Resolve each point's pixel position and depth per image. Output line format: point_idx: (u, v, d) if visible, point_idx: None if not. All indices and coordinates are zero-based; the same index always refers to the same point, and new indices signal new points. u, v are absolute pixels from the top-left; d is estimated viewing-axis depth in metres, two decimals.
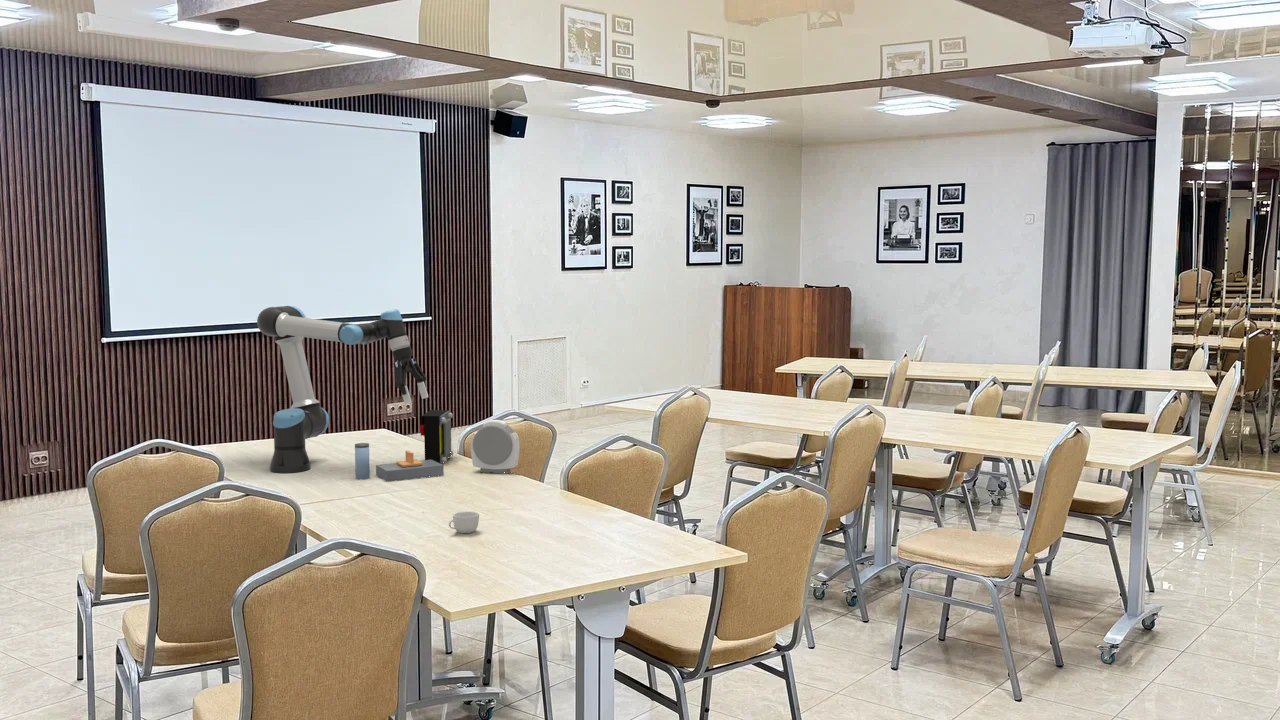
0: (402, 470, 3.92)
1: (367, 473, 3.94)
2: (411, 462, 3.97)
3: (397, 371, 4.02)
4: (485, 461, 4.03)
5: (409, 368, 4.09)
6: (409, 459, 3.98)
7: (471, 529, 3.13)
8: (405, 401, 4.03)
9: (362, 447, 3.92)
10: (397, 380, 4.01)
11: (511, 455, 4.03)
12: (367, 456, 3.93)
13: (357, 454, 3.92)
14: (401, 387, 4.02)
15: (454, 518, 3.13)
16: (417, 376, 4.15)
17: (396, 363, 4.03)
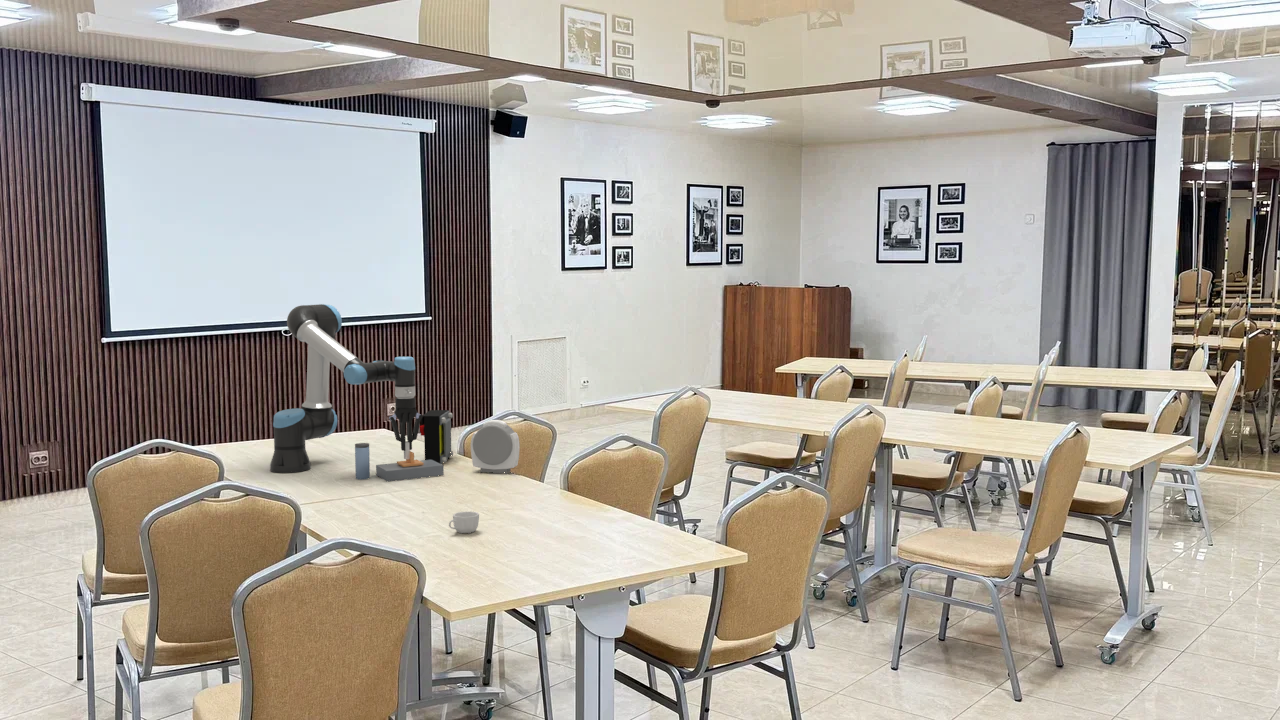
0: (402, 470, 3.92)
1: (367, 473, 3.94)
2: (411, 462, 3.97)
3: (393, 427, 3.96)
4: (485, 461, 4.03)
5: (406, 419, 3.97)
6: (410, 459, 3.98)
7: (471, 529, 3.13)
8: (404, 456, 3.99)
9: (362, 447, 3.92)
10: (395, 436, 3.96)
11: (511, 455, 4.03)
12: (367, 456, 3.93)
13: (357, 454, 3.92)
14: (401, 442, 3.98)
15: (454, 518, 3.13)
16: (408, 432, 3.98)
17: (390, 419, 3.95)
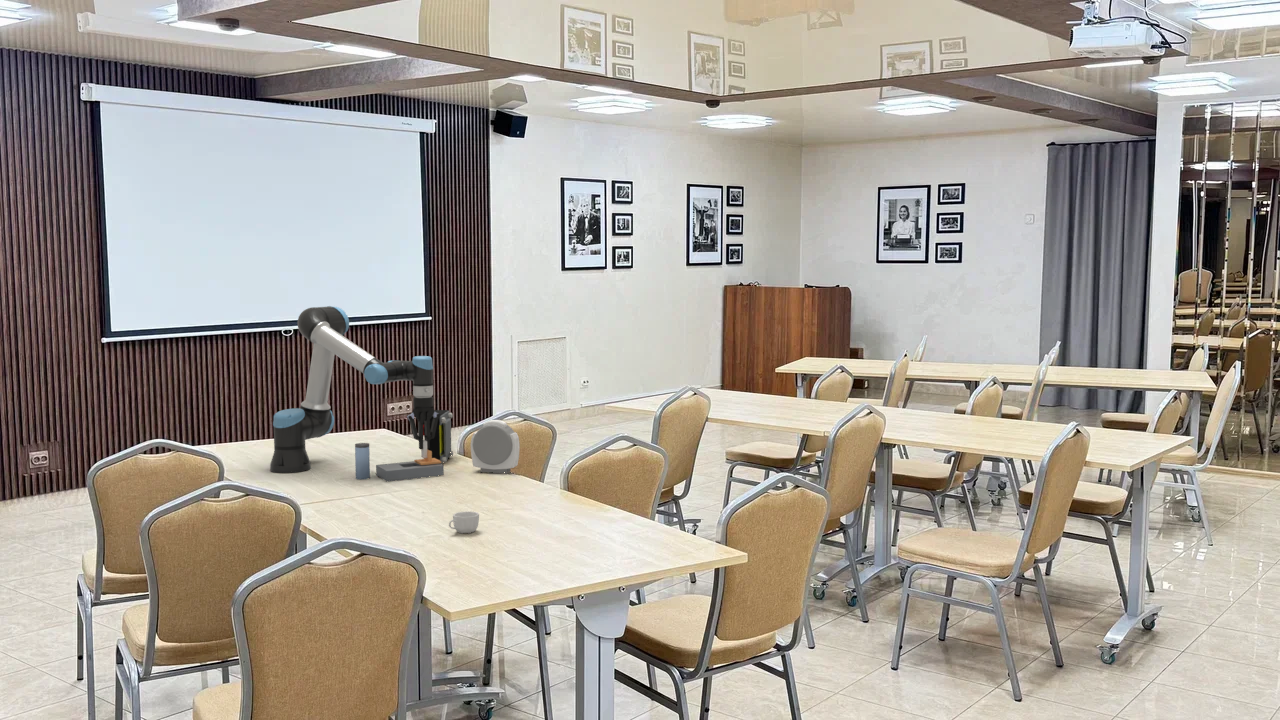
0: (402, 470, 3.92)
1: (367, 473, 3.94)
2: (429, 460, 4.01)
3: (411, 426, 3.99)
4: (485, 461, 4.03)
5: (424, 418, 4.00)
6: (428, 457, 4.01)
7: (471, 529, 3.13)
8: (421, 455, 4.03)
9: (362, 447, 3.92)
10: (413, 435, 4.00)
11: (511, 455, 4.03)
12: (367, 456, 3.93)
13: (357, 454, 3.92)
14: (419, 441, 4.01)
15: (454, 518, 3.13)
16: (425, 431, 4.02)
17: (408, 418, 3.98)
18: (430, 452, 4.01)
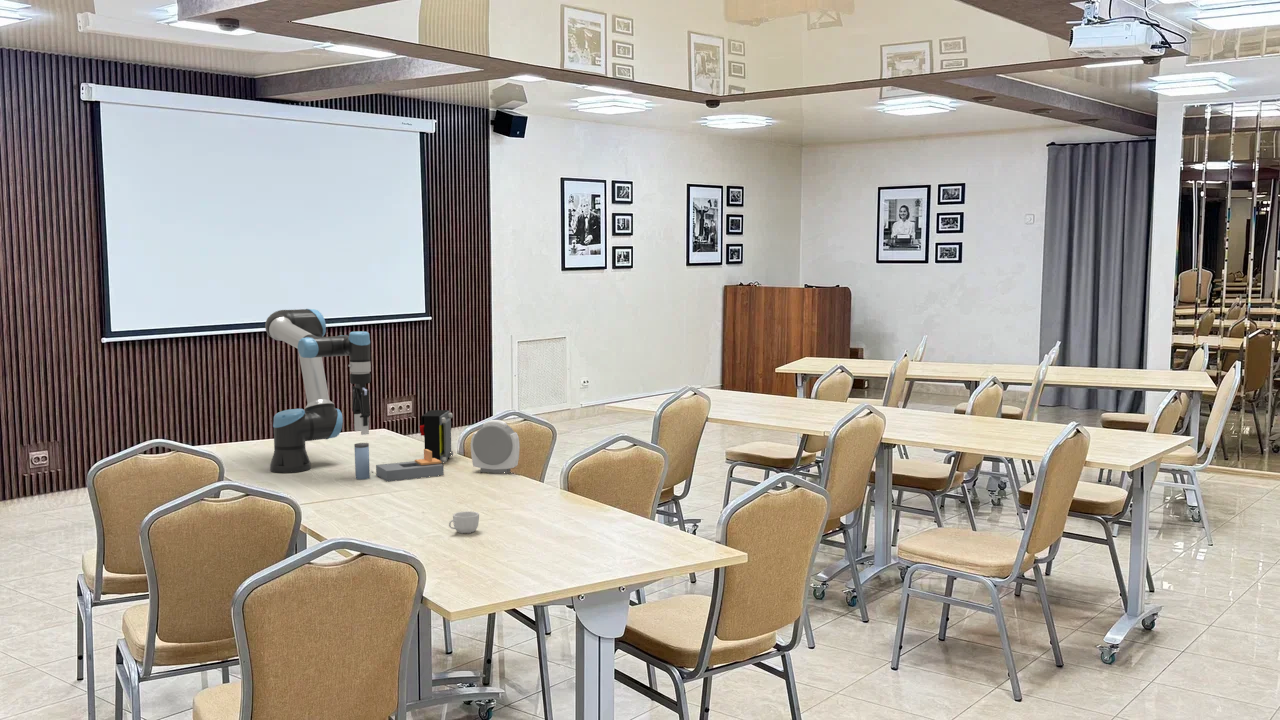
0: (402, 470, 3.92)
1: (367, 473, 3.94)
2: (430, 460, 4.01)
3: None
4: (485, 461, 4.03)
5: None
6: (428, 457, 4.01)
7: (471, 529, 3.13)
8: None
9: (362, 447, 3.92)
10: None
11: (511, 455, 4.03)
12: (367, 456, 3.94)
13: (356, 454, 3.92)
14: None
15: (454, 518, 3.13)
16: None
17: None
18: (430, 452, 4.01)
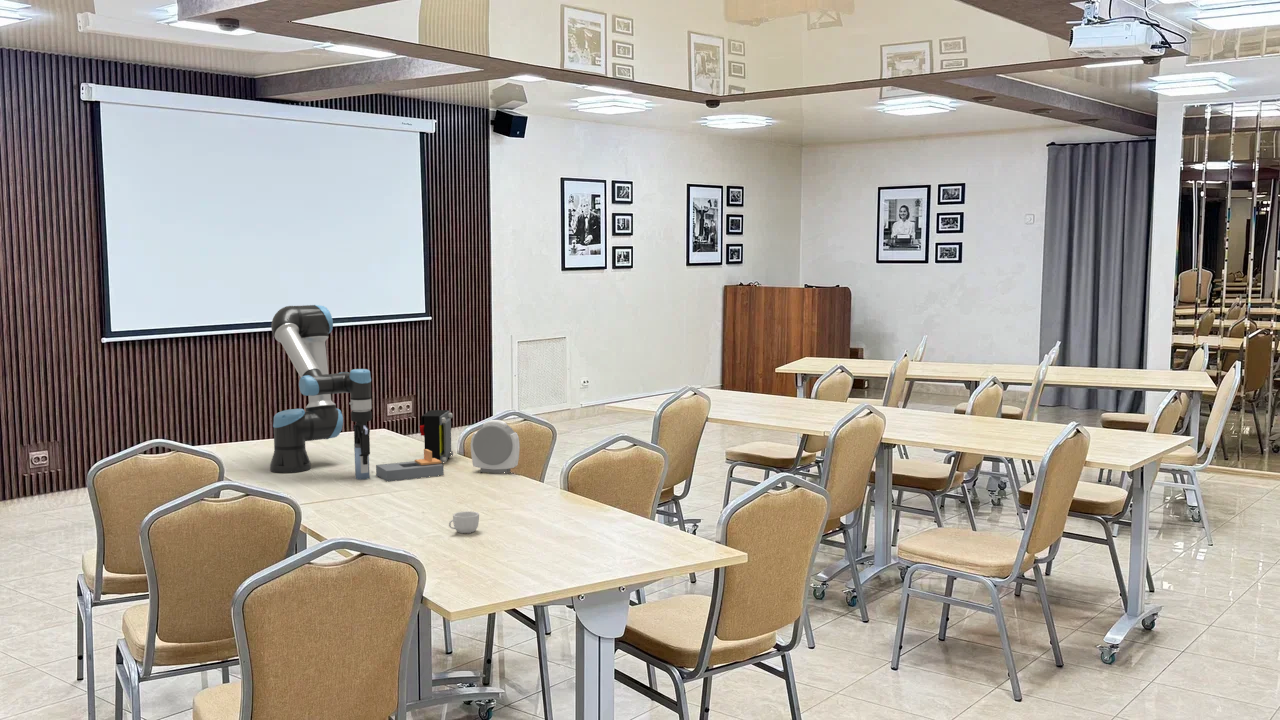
0: (402, 470, 3.92)
1: (367, 473, 3.94)
2: (430, 460, 4.01)
3: None
4: (485, 461, 4.03)
5: None
6: (428, 457, 4.01)
7: (471, 529, 3.13)
8: None
9: None
10: None
11: (511, 455, 4.03)
12: None
13: (356, 454, 3.92)
14: None
15: (454, 518, 3.13)
16: None
17: None
18: (430, 452, 4.01)
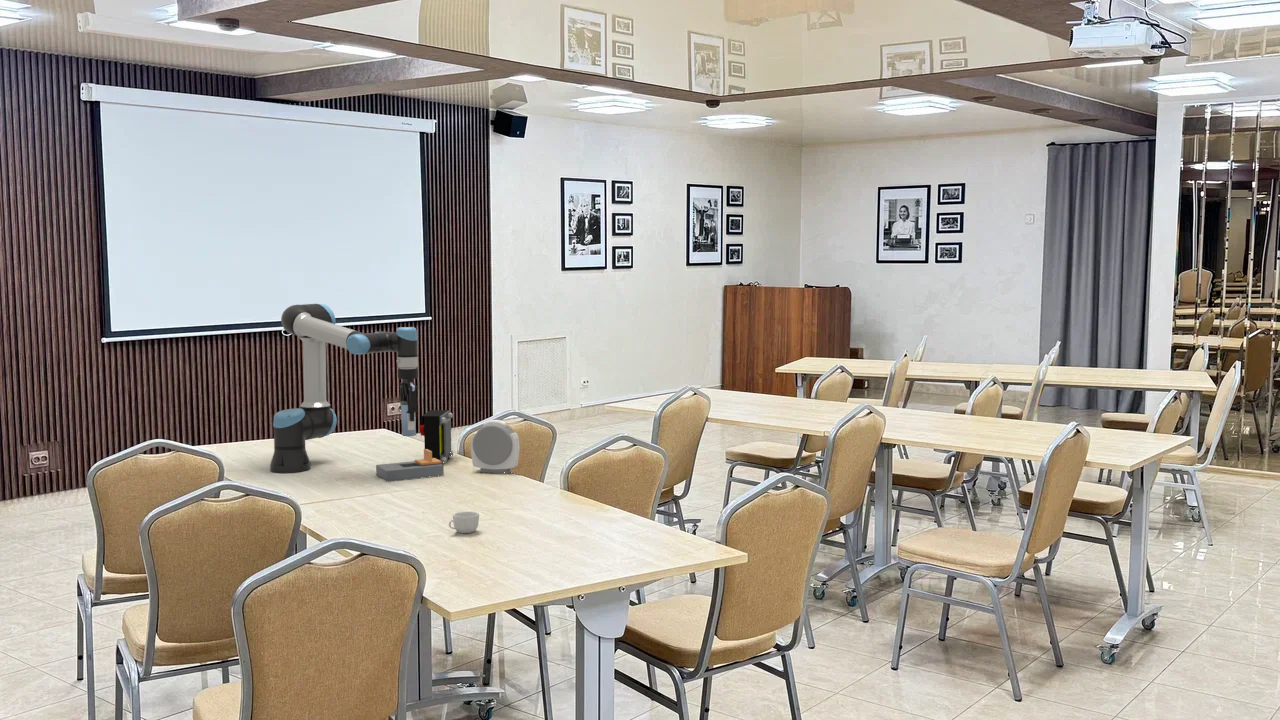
0: (402, 470, 3.92)
1: (413, 430, 3.97)
2: (430, 460, 4.01)
3: None
4: (485, 461, 4.03)
5: (405, 390, 3.97)
6: (428, 457, 4.01)
7: (471, 529, 3.13)
8: None
9: None
10: None
11: (511, 455, 4.03)
12: None
13: (403, 411, 3.96)
14: None
15: (454, 518, 3.13)
16: None
17: None
18: (430, 452, 4.01)
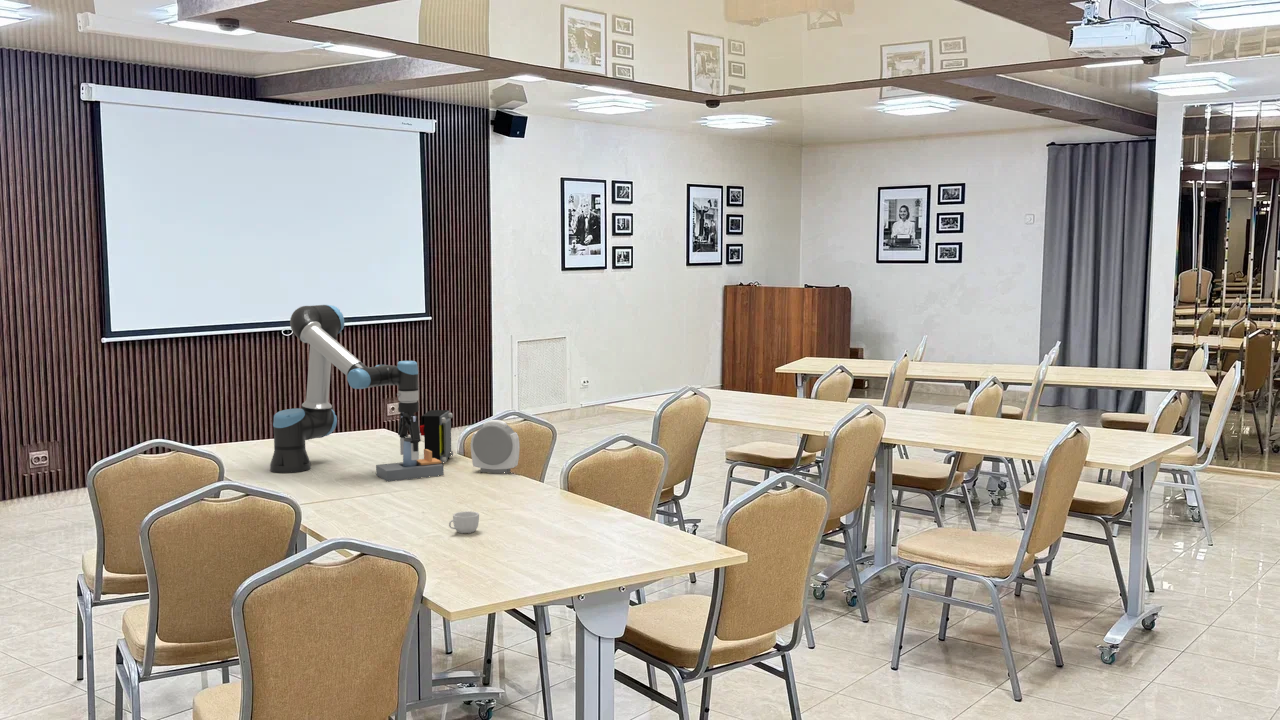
0: (402, 470, 3.92)
1: None
2: (430, 460, 4.01)
3: None
4: (485, 461, 4.03)
5: (405, 423, 3.98)
6: (428, 457, 4.01)
7: (471, 529, 3.13)
8: None
9: None
10: None
11: (511, 455, 4.03)
12: None
13: (405, 448, 3.97)
14: None
15: (454, 518, 3.13)
16: None
17: None
18: (430, 452, 4.01)
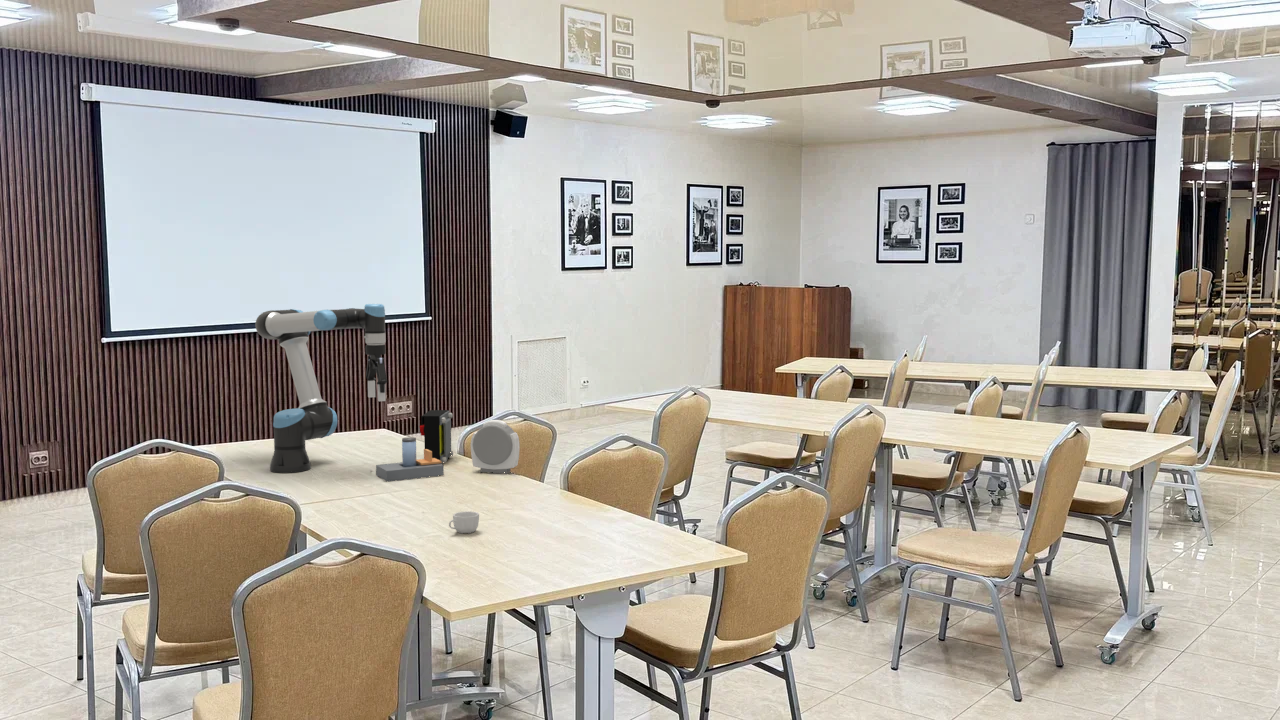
0: (402, 470, 3.92)
1: None
2: (430, 460, 4.01)
3: None
4: (485, 461, 4.03)
5: (373, 366, 4.01)
6: (428, 457, 4.01)
7: (471, 529, 3.13)
8: None
9: (409, 441, 3.97)
10: None
11: (511, 455, 4.03)
12: (414, 450, 3.98)
13: (404, 448, 3.97)
14: None
15: (454, 518, 3.13)
16: None
17: None
18: (430, 452, 4.01)
